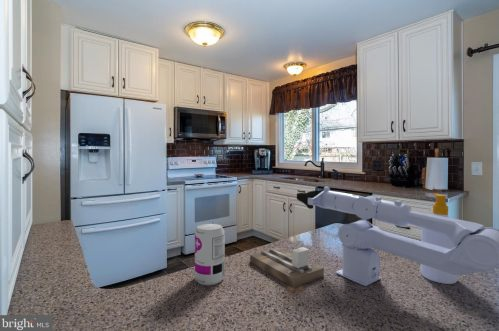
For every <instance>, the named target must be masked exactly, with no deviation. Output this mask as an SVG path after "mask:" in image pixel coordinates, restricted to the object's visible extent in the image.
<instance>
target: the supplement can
mask: <svg viewBox="0 0 499 331" xmlns="http://www.w3.org/2000/svg"><path fill="white" fill-rule="evenodd" d="M225 233H226V231H225V229H224V228H223V225H222V224H220V223H216V222H206V223H201V224H198V225H197V226H196V229H195V231H194V280H195V281H196V282H197V284H200V285H202V286H213V285H214V286H215V285H218V284H220V283H221V282H222V280H224V278H225V273H226V271H225V264H226V263H225V262H226V261H225V259H226V258H225V255H226V254H225V251H226V249H225V245H226V243H225V239H226V238H225V237H226V235H225Z"/></svg>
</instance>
